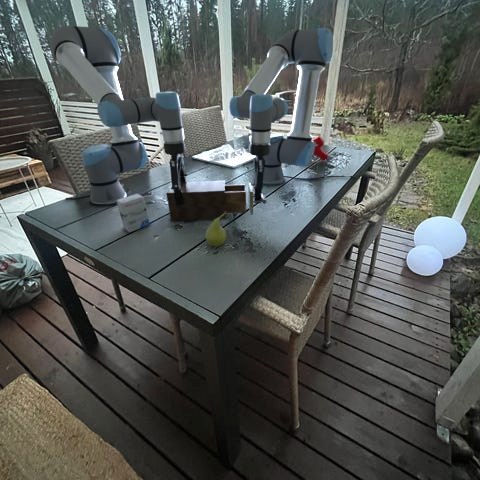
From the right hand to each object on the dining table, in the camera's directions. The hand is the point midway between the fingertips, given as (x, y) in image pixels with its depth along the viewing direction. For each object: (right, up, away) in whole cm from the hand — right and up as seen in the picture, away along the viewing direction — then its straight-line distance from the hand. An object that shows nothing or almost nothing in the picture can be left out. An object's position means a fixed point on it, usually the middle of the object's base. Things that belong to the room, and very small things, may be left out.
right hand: (257, 202), depth 111 cm
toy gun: (+38, +36, +64) cm, 83 cm away
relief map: (-17, +39, +70) cm, 82 cm away
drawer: (-10, -3, +2) cm, 10 cm away
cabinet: (-24, -4, +2) cm, 24 cm away
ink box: (-47, -10, -7) cm, 48 cm away
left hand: (-31, +1, -2) cm, 31 cm away
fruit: (-15, -17, -18) cm, 29 cm away
